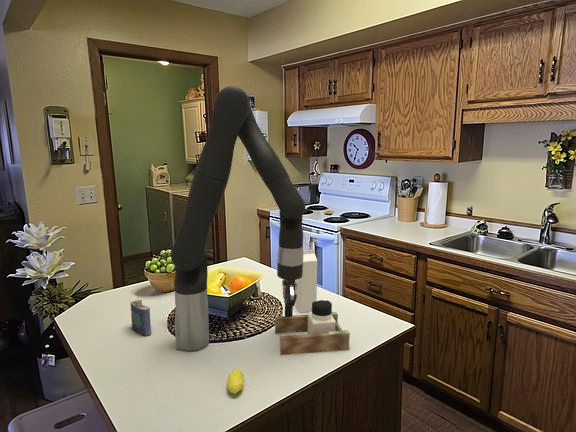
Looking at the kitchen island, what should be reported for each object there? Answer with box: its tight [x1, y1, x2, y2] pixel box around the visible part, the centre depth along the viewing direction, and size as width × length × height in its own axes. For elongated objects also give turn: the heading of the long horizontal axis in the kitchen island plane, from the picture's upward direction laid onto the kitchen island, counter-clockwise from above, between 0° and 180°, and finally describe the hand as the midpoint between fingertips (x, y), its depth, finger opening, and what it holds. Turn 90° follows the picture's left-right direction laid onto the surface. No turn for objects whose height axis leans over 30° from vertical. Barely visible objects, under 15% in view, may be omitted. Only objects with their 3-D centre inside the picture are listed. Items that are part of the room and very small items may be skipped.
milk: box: [295, 249, 318, 314], centre depth 138 cm, size 6×6×22 cm
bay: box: [274, 311, 351, 356], centre depth 118 cm, size 20×14×5 cm
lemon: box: [226, 369, 245, 394], centre depth 95 cm, size 4×8×4 cm, turn 178°
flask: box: [130, 298, 152, 337], centre depth 122 cm, size 9×3×11 cm, turn 50°
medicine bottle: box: [307, 298, 336, 334], centre depth 118 cm, size 7×7×12 cm
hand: (288, 316), depth 117 cm, fingers closed
